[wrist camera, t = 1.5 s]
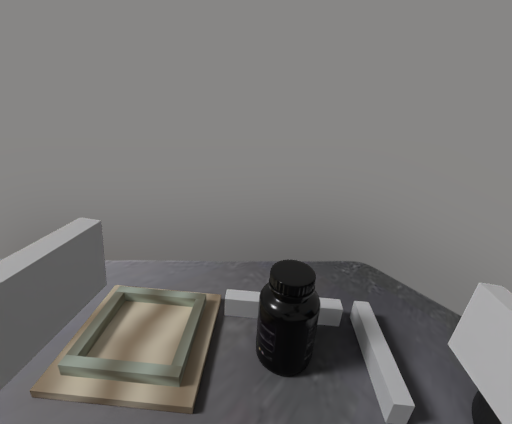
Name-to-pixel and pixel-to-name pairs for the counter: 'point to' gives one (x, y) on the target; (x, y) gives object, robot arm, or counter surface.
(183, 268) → the counter surface
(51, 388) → the seating station
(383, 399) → the bracket
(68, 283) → the robot arm
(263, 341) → the supplement bottle
